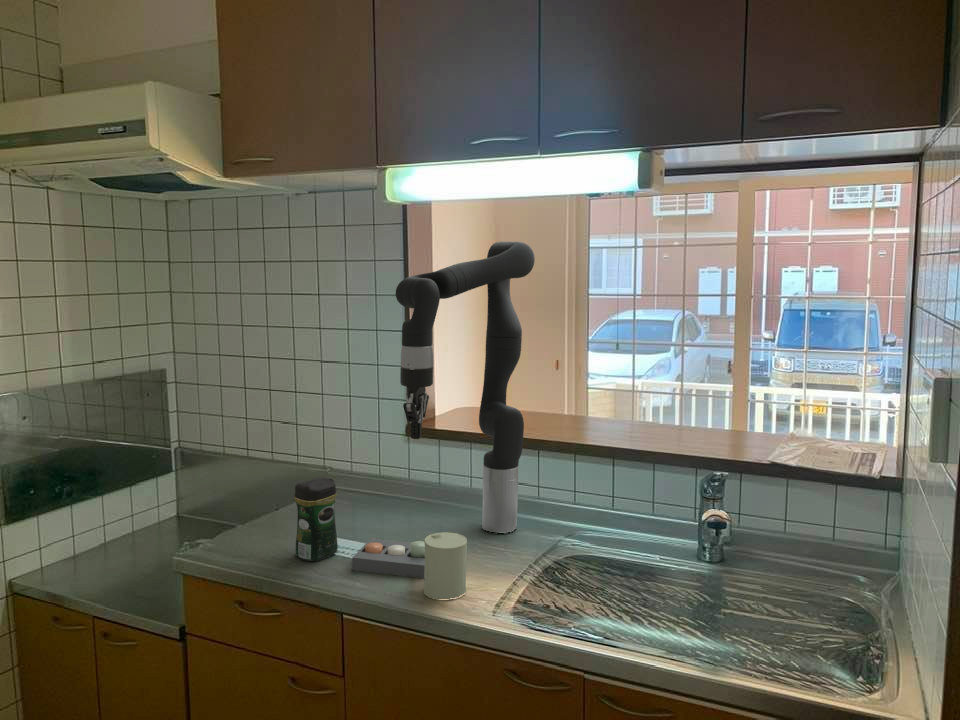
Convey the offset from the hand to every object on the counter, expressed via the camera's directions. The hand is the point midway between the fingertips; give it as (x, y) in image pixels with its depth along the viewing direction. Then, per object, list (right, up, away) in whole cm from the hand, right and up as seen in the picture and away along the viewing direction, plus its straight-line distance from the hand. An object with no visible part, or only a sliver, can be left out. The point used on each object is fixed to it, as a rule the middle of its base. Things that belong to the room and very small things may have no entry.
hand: (416, 438), depth 173 cm
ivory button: (-5, -28, 0) cm, 29 cm away
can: (+7, -32, -14) cm, 35 cm away
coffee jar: (-24, -28, +4) cm, 38 cm away
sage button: (+1, -27, -2) cm, 27 cm away
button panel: (-5, -29, 0) cm, 30 cm away
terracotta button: (-10, -28, +1) cm, 30 cm away
